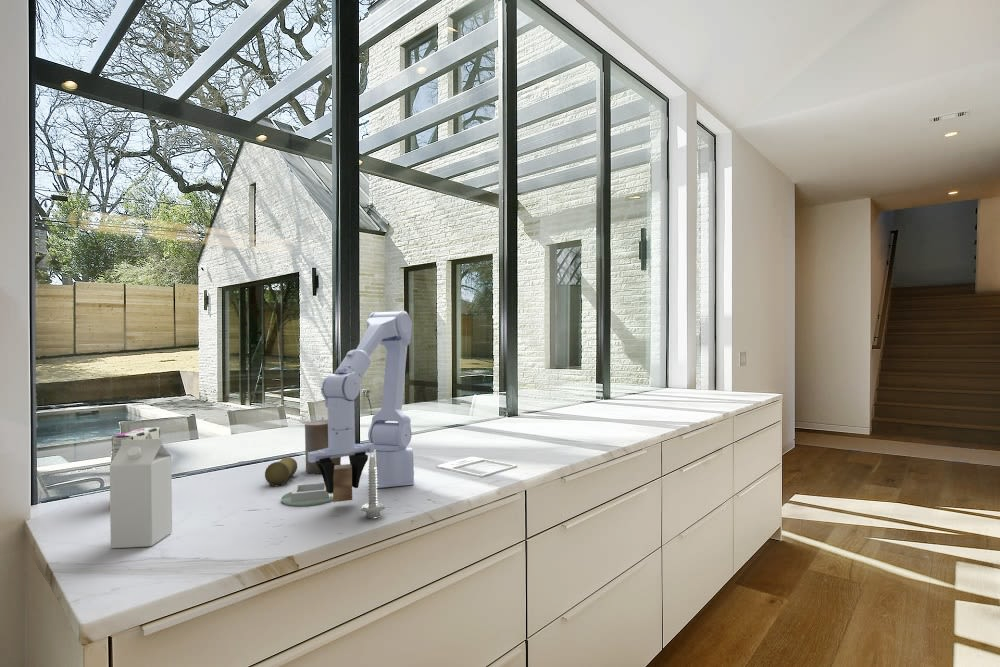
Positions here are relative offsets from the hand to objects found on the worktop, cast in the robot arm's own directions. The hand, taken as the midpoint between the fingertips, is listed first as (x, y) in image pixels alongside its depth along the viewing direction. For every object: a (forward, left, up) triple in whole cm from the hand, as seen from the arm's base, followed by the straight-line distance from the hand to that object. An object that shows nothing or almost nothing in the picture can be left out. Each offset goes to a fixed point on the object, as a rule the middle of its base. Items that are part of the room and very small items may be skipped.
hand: (342, 489), depth 118 cm
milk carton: (+36, +8, -4) cm, 37 cm away
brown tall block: (0, 0, -2) cm, 2 cm away
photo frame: (-37, -25, -5) cm, 45 cm away
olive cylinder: (+16, -24, -1) cm, 29 cm away
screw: (-6, +9, -4) cm, 12 cm away
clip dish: (+7, -10, -4) cm, 13 cm away
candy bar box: (+46, -22, -4) cm, 51 cm away
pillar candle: (+5, -38, -4) cm, 39 cm away
